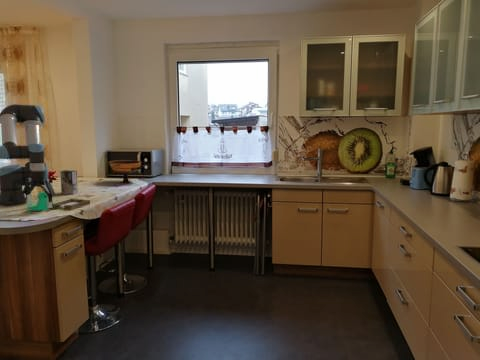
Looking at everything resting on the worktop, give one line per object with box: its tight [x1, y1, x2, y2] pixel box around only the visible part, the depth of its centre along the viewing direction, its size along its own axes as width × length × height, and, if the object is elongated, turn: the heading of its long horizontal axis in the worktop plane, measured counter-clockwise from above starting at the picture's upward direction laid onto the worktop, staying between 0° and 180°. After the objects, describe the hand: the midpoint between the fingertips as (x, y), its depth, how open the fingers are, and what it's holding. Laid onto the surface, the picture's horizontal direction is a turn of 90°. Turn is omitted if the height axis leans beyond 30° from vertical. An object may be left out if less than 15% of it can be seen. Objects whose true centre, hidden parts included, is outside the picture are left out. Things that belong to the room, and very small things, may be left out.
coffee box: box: [59, 169, 79, 195], centre depth 261 cm, size 9×6×16 cm
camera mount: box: [27, 191, 54, 212], centre depth 215 cm, size 12×8×10 cm, turn 165°
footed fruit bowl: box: [106, 159, 145, 185], centre depth 310 cm, size 36×26×18 cm
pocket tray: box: [52, 198, 91, 211], centre depth 225 cm, size 13×17×2 cm
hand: (39, 206), depth 215 cm, fingers open, 13 cm apart
